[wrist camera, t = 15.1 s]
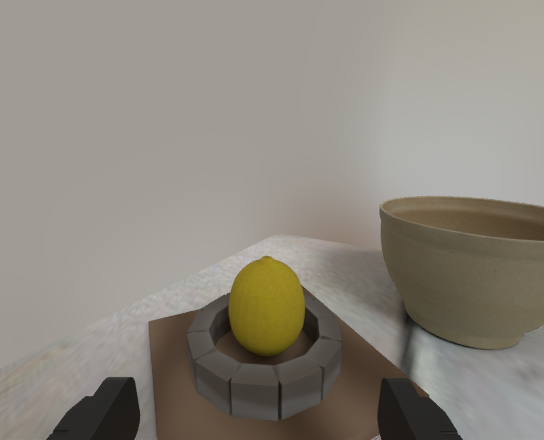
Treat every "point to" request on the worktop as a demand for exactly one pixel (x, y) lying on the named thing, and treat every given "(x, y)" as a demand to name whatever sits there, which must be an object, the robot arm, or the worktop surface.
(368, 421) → the stand
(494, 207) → the planter bowl
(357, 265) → the worktop surface
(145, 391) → the worktop surface
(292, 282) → the lemon
